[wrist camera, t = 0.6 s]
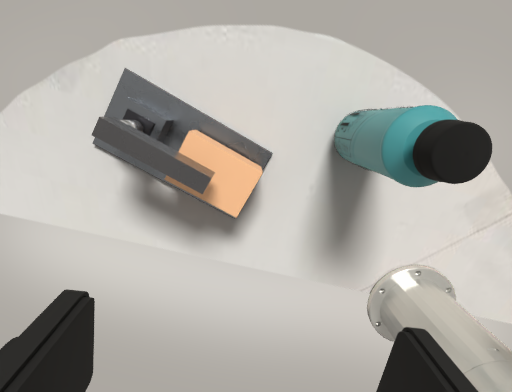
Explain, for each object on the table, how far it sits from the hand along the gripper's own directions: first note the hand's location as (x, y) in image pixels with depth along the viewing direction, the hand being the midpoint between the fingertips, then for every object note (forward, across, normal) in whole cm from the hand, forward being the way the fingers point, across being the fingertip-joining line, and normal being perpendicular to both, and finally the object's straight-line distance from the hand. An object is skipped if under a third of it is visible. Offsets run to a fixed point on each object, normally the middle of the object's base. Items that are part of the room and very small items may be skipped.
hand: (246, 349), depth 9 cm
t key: (+26, +8, -1) cm, 27 cm away
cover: (+28, +3, +1) cm, 29 cm away
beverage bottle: (+30, -14, -6) cm, 34 cm away
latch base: (+31, +8, -1) cm, 32 cm away
